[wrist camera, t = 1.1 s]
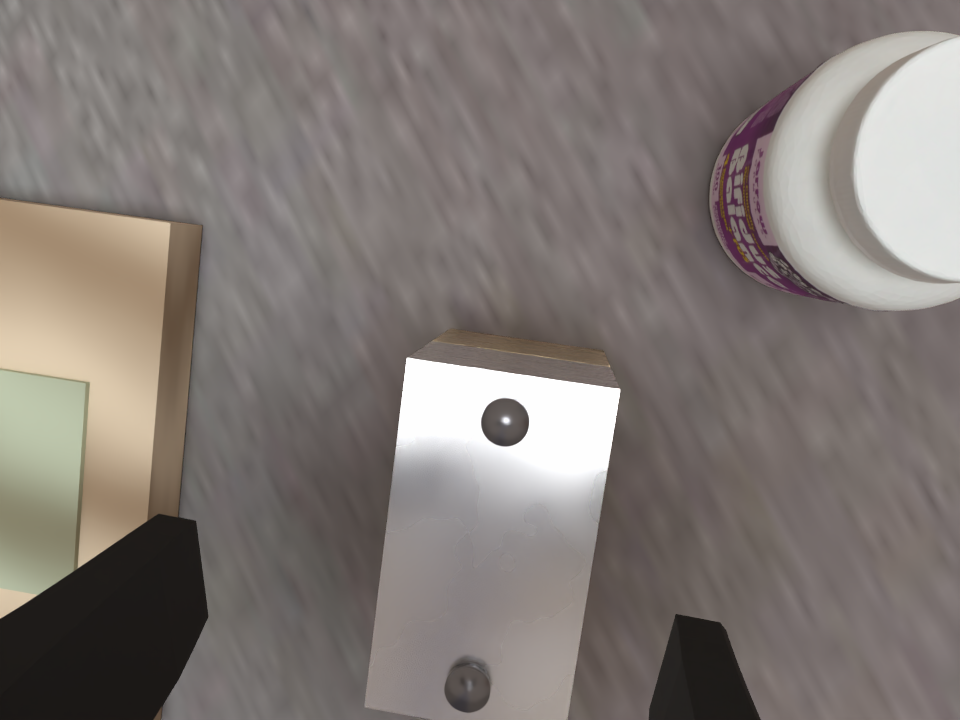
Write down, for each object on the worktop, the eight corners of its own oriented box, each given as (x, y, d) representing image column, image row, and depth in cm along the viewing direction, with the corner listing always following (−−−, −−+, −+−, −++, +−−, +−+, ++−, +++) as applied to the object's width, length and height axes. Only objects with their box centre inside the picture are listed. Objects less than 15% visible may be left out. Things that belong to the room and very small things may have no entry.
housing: (562, 608, 25) (563, 752, 18) (417, 584, 25) (361, 714, 18) (603, 350, 24) (621, 392, 16) (450, 328, 24) (404, 360, 17)
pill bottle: (665, 178, 23) (740, 124, 13) (829, 55, 22) (1034, -98, 12) (778, 333, 23) (932, 389, 13) (944, 216, 22) (1234, 189, 13)
